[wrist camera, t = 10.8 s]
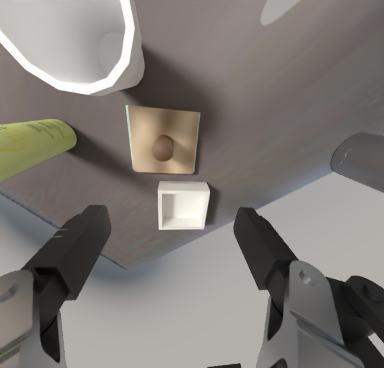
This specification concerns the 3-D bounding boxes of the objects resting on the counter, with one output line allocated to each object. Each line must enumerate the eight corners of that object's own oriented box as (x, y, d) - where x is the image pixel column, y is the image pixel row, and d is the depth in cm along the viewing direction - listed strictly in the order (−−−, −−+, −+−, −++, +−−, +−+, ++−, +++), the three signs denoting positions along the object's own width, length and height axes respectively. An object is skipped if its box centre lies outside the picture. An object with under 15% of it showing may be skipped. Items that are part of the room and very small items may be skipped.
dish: (206, 181, 32) (210, 191, 28) (200, 217, 36) (203, 228, 33) (159, 180, 30) (157, 190, 27) (160, 217, 35) (158, 229, 31)
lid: (197, 112, 24) (203, 113, 20) (192, 172, 29) (195, 184, 25) (129, 105, 23) (117, 105, 18) (136, 169, 28) (128, 182, 23)
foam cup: (146, 109, 24) (120, 113, 12) (83, 83, 21) (-19, 59, 10) (163, 38, 20) (147, -51, 9) (88, -4, 17) (-71, -206, 6)
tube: (70, 115, 23) (-222, 142, 6) (87, 146, 26) (-88, 228, 9) (35, 121, 23) (-360, 169, 6) (55, 152, 25) (-185, 247, 8)
